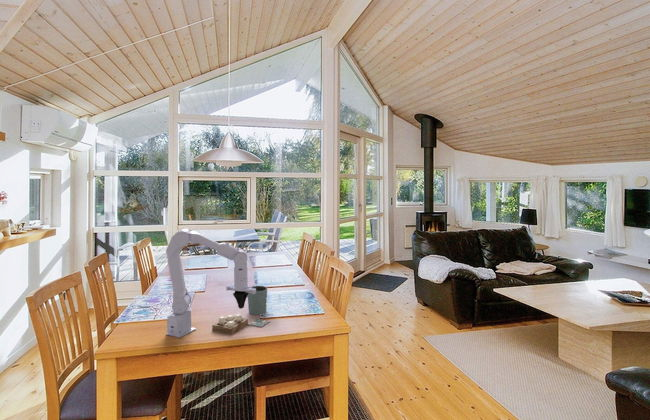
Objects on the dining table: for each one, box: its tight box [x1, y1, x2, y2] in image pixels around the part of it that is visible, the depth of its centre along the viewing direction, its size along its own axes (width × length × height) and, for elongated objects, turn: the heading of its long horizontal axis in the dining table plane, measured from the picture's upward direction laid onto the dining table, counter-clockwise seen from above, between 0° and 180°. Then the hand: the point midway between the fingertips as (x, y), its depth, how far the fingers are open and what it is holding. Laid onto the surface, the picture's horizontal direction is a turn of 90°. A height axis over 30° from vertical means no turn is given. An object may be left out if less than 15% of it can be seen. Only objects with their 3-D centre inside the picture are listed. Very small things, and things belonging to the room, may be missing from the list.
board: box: [211, 315, 249, 335], centre depth 159 cm, size 12×10×2 cm
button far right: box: [235, 313, 243, 323], centre depth 160 cm, size 3×3×3 cm
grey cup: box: [247, 285, 268, 316], centre depth 178 cm, size 10×10×12 cm
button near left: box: [218, 316, 226, 325], centre depth 157 cm, size 3×3×3 cm
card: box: [247, 318, 271, 328], centre depth 164 cm, size 7×7×1 cm
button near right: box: [228, 321, 234, 327], centre depth 155 cm, size 3×3×3 cm
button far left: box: [226, 314, 234, 321], centre depth 162 cm, size 3×3×3 cm
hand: (241, 307), depth 158 cm, fingers closed
